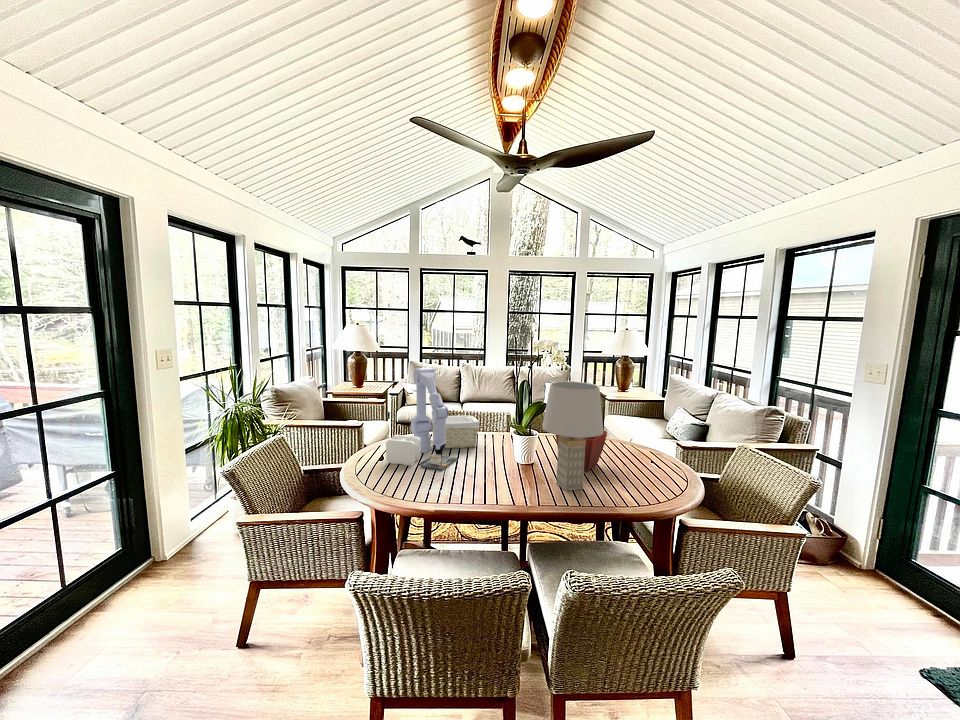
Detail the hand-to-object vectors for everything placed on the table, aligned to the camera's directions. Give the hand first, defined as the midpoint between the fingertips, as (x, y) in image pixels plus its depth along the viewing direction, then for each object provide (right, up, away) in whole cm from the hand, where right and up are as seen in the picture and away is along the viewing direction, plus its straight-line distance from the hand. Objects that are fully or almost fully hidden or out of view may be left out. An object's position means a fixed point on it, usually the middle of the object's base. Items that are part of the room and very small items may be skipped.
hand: (439, 459), depth 207 cm
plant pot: (+68, -4, +5) cm, 68 cm away
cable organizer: (-18, -2, +3) cm, 18 cm away
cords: (-6, -2, +4) cm, 8 cm away
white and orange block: (-1, -1, -3) cm, 4 cm away
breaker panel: (0, -2, +1) cm, 2 cm away
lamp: (+57, -6, -22) cm, 62 cm away
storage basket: (+6, +1, +32) cm, 32 cm away
